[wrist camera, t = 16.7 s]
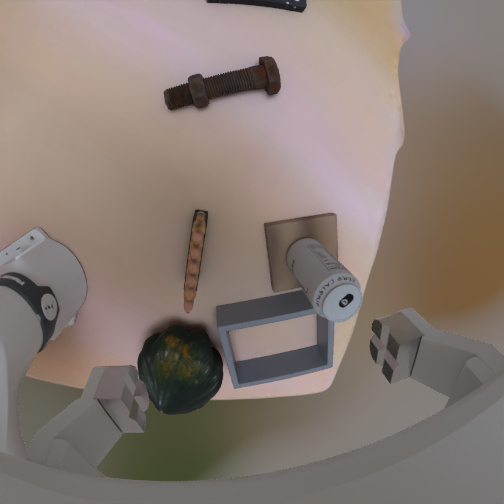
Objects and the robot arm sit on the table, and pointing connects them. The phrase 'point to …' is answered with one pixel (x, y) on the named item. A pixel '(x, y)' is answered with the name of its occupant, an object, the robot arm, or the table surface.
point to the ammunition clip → (194, 258)
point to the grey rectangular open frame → (279, 363)
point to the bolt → (225, 84)
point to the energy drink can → (324, 280)
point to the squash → (180, 370)
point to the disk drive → (269, 3)
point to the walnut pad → (292, 231)
